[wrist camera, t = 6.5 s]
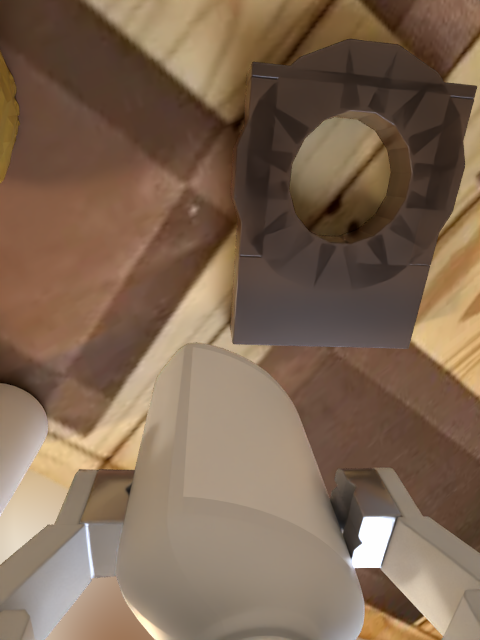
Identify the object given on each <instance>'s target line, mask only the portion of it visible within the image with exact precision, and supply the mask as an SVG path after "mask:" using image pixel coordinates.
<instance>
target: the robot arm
mask: <svg viewBox="0 0 480 640" xmlns="http://www.w3.org/2000/svg"><path fill="white" fill-rule="evenodd" d="M134 474H135V470H104V469H99V470H83V469H79V471H78V472H77V473H76V474H75V476H74V479H73V481H72V484H71V486H70V488H69V491H68V493H67V496H66V498H65V501H64V503H63V505H62V508H61V510H60V512H59V515H58V517H57V519H56V522H55V524H54V525H47V526H46V527H45V528H44V529H42V530H41V531H40V532H39V533H38V534H36V535H35V536H34V537H33V538H32V539H30V540H29V541H28V542H27V543H26V544H25V545H23V546H22V547H21V548H20V549H19V550H17V551H16V552H15V553H14V554H13V555H11V556H10V557H9V558H8V559H7V560H5V561H4V562H3V563H2V564H1V565H0V640H45V639H46V638H47V637H48V635H49V634H50V633H51V631H52V630H53V629H54V628H55V626H56V625H57V624H58V622H59V621H60V620H61V619H62V617H63V616H64V615H65V614H66V612H67V611H68V610H69V609H70V607H71V606H72V605H73V603H74V602H75V601H76V600H77V598H78V597H79V596H80V595H81V593H82V592H83V591H84V590H85V588H86V587H87V585H89V583H90V582H91V580H92V579H91V578H100V577H114V576H116V562H117V552H118V547H119V542H120V537H121V532H122V527H123V524H124V521H125V516H126V511H127V506H128V501H129V497H130V495H129V494H130V489H131V486H132V483H133V479H134ZM335 482H336V484H337V487H336V488H335V489H334V490H333V491H332V493H331V498H330V501H331V504H332V507H333V509H334V512H335V515H336V518H337V520H338V523H339V526H340V529H341V531H342V534H343V537H344V540H345V543H346V545H347V548H348V551H349V554H350V557H351V560H352V563H353V566H354V568H377V567H381V570H382V571H383V572H384V573H385V574H386V575H387V576H388V577H389V579H390V580H391V581H392V582H393V583H394V584H395V585H396V586H397V587H398V588H399V589H400V590H401V591H402V592H403V594H404V595H405V596H406V597H407V598H408V599H409V600H410V601H411V602H412V603H413V604H414V605H415V606H416V608H417V609H418V610H419V611H420V612H421V613H422V614H423V615H424V616H425V617H426V618H427V619H428V620H429V622H430V623H431V624H432V625H433V626H434V627H435V628H436V629H437V630H438V631H439V632H440V633H441V634H442V635H443V638H442V640H480V553H478V552H477V551H476V550H474V549H473V548H471V547H470V546H469V545H467V544H466V543H464V542H463V541H462V540H460V539H459V538H457V537H456V536H455V535H453V534H452V533H450V532H449V531H448V530H446V529H445V528H443V527H442V526H441V525H439V524H438V523H436V522H435V521H434V520H432V519H431V518H429V517H423V516H422V514H421V513H420V511H419V509H418V508H417V506H416V505H415V503H414V501H413V500H412V498H411V497H410V495H409V493H408V492H407V490H406V489H405V487H404V485H403V484H402V482H401V481H400V479H399V477H398V476H397V474H396V473H395V471H394V470H393V469H392V468H343V469H338V470H337V472H336V475H335Z"/></svg>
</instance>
